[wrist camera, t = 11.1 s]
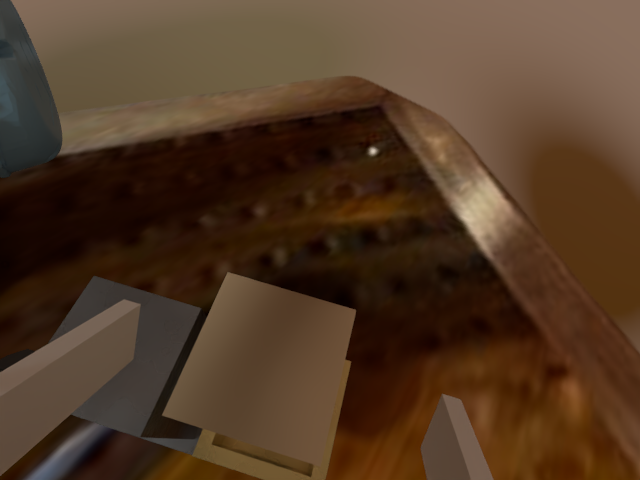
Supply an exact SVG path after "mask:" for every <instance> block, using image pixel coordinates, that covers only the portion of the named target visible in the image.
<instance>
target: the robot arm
mask: <svg viewBox="0 0 640 480" xmlns="http://www.w3.org/2000/svg"><path fill="white" fill-rule="evenodd" d="M61 146H62V130H61V124H60V120H59V115H58V112H57V108H56V105H55V102H54V99H53V96H52V93H51V90H50V87H49V84H48V81H47V79H46V76H45V73H44V70H43V68H42V65H41V63H40V60H39V58H38V56H37V53H36V51H35V48H34V46H33V44H32V41H31V39H30V38H29V35H28V33H27V30H26V28H25V27H24V24H23V22H22V20H21V18H20V16H19V14H18V12H17V10H16V9H15V7H14V5H13V4H12V2H11V1H10V0H0V177H1V178H6V177H8V176H10V175H11V173H12V172H16V171H19V170H23V169H26V168H29V167H33V166H36V165H40V164H43V163H46V162H48V161H50V160H52V159H53V158H55V157H56V156H57V154H58V153H59V151H60V149H61ZM140 306H141V304H138V303H135V302H131V301H128V300H125V299H124V300H122V301H120V302H119V303H117V304H115V305H113V306H112V307H110V308H108V309H107V310H105V311H103V312H102V313H100V314H98V315H96V316H95V317H93V318H91V319H90V320H88V321H86V322H85V323H83V324H81V325H80V326H78V327H76V328H74V329H73V330H71V331H69V332H68V333H66V334H64V335H63V336H61V337H59V338H58V339H56V340H54V341H52V342H51V343H49V344H47V345H46V346H44V347H42V348H41V349H39V350H37V351H36V352H35V351H32V350H29V349H26V350H23V351H20V352H17V353H14V354H11V355H8V356H6V357H4V358H2V359H0V476H1V475H2V474H3V473H4V472H5V471H6V470H8V469H9V468H10V467H11V466H12V465H13V464H14V463H16V462H17V461H18V460H19V459H20V458H21V457H22V456H24V455H25V454H26V453H27V452H28V451H29V450H30V449H31V448H33V447H34V446H35V445H36V444H37V443H38V442H39V441H41V440H42V439H43V438H44V437H45V436H46V435H47V434H49V433H50V432H51V431H52V430H53V429H54V428H55V427H57V426H58V425H59V424H60V423H61V422H62V421H63V420H65V419H66V418H67V417H68V416H69V415H70V414H71V413H73V412H74V411H75V410H76V409H77V408H78V407H79V406H81V405H82V404H83V403H84V402H85V401H86V400H87V399H89V398H90V397H91V396H92V395H93V394H94V393H95V392H97V391H98V390H99V389H100V388H101V387H102V386H103V385H105V384H106V383H107V382H108V381H109V380H110V379H111V378H112V377H114V376H115V375H116V374H117V373H118V372H119V371H120V370H122V369H123V368H124V367H125V366H126V365H127V364H128V363H130V362H131V361H132V360H133V358H134V351H135V343H136V336H137V328H138V321H139V313H140ZM421 452H422V457H423V462H424V467H425V472H426V477H427V480H493V477H492V475H491V473H490V470H489V468H488V465H487V463H486V460H485V458H484V455H483V453H482V450H481V448H480V446H479V443H478V441H477V438H476V436H475V433H474V431H473V428H472V426H471V423H470V421H469V419H468V416H467V414H466V411H465V409H464V406H463V404H462V401H461V399H457V398H454V397H451V396H447V395H444V394H442V396H441V398H440V401H439V403H438V406H437V408H436V411H435V413H434V415H433V418H432V420H431V423H430V425H429V428H428V430H427V433H426V435H425V438H424V440H423V443H422V445H421Z"/></svg>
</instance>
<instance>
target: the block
mask: <svg viewBox="0 0 640 480" xmlns="http://www.w3.org/2000/svg"><path fill="white" fill-rule="evenodd" d="M355 314H356V310H354V309H351V308H348V307H344V306H341V305H337V304H334V303H331V302H327V301H324V300H320V299H317V298H314V297H310V296H307V295H303V294H300V293H297V292H293V291H290V290H287V289H283V288H280V287H276V286H273V285H270V284H266V283H263V282H259V281H256V280H253V279H249V278H246V277H242V276H239V275H236V274H232V273H229V272H228V273H227V275H226V277H225V279H224V281H223V284H222V286H221V288H220V290H219V292H218V295H217V297H216V299H215V301H214V303H213V305H212V308H211V310H210V312H209V314H208V316H207V318H206V321H205V323H204V325H203V327H202V329H201V332H200V334H199V336H198V338H197V340H196V342H195V345H194V347H193V349H192V351H191V353H190V355H189V358H188V360H187V362H186V364H185V366H184V369H183V371H182V373H181V375H180V377H179V379H178V382H177V384H176V386H175V388H174V390H173V392H172V395H171V397H170V399H169V401H168V403H167V406H166V408H165V410H164V412H163V414H162V416H165V417H168V418H172V419H175V420H178V421H181V422H184V423H187V424H190V425H193V426H196V427H199V428H202V429H205V430H209V431H212V432H215V433H218V434H221V435H224V436H227V437H230V438H233V439H236V440H239V441H242V442H246V443H249V444H252V445H255V446H258V447H261V448H264V449H267V450H270V451H273V452H276V453H279V454H283V455H286V456H289V457H292V458H295V459H298V460H301V461H304V462H307V463H310V464H313V465H316V466H320V467H321V463H322V458H323V454H324V449H325V445H326V441H327V436H328V432H329V428H330V423H331V419H332V415H333V410H334V406H335V401H336V397H337V393H338V388H339V384H340V380H341V375H342V371H343V367H344V362H345V358H346V353H347V349H348V345H349V340H350V336H351V332H352V327H353V323H354V319H355Z"/></svg>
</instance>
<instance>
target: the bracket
mask: <svg viewBox="0 0 640 480" xmlns="http://www.w3.org/2000/svg"><path fill="white" fill-rule="evenodd" d="M124 299H125V300H128V301H131V302H135V303H138V304H141V306H140V313H139V321H138V328H137V336H136V343H135V351H134V358H133V360H132V361H131V362H130V363H128V364H127V365H126V366H125V367H124V368H123V369H122V370H120V371H119V372H118V373H117V374H116V375H115V376H114V377H112V378H111V379H110V380H109V381H108V382H107V383H106V384H105V385H103V386H102V387H101V388H100V389H99V390H98V391H97V392H95V393H94V394H93V395H92V396H91V397H90V398H89V399H87V400H86V401H85V402H84V403H83V404H82V405H81V406H79V407H78V408H77V409H76V410H75V411H74V412H73V413H71V415H74V416H77V417H80V418H83V419H86V420H89V421H92V422H95V423H97V424H100V425H103V426H106V427H109V428H112V429H115V430H118V431H121V432H124V433H127V434H130V435H133V436H136V437H139V438H142V439H145V440H148V441H151V442H154V443H157V444H161V445H164V446H167V447H170V448H173V449H176V450H179V451H182V452H185V453H188V454H191V455H192V456H194V457H197V458H200V459H203V460H206V461H209V462H212V463H215V464H218V465H221V466H224V467H227V468H230V469H233V470H236V471H239V472H242V473H245V474H248V475H251V476H254V477H257V478H260V479H263V480H325V478H326V474H327V469H328V465H329V460H330V456H331V451H332V447H333V442H334V438H335V433H336V428H337V424H338V419H339V415H340V410H341V406H342V401H343V397H344V392H345V388H346V383H347V379H348V374H349V369H350V365H351V361H348V360H345V362H344V367H343V371H342V375H341V380H340V384H339V388H338V393H337V397H336V401H335V406H334V410H333V415H332V419H331V423H330V428H329V432H328V436H327V441H326V445H325V449H324V454H323V458H322V463H321V467H320V466H316V465H313V464H310V463H307V462H304V461H301V460H298V459H295V458H292V457H289V456H286V455H283V454H279V453H276V452H273V451H270V450H267V449H264V448H261V447H258V446H255V445H252V444H249V443H246V442H242V441H239V440H236V439H233V438H230V437H227V436H224V435H221V434H218V433H215V432H212V431H209V430H205V429H202V428H199V427H196V426H193V425H190V424H187V423H184V422H181V421H178V420H175V419H172V418H168V417H165V416H162V414H163V412H164V410H165V408H166V406H167V403H168V401H169V399H170V397H171V395H172V392H173V390H174V388H175V386H176V384H177V382H178V379H179V377H180V375H181V373H182V371H183V369H184V366H185V364H186V362H187V360H188V358H189V355H190V353H191V351H192V349H193V347H194V345H195V342H196V340H197V338H198V336H199V334H200V332H201V329H202V327H203V325H204V323H205V321H206V318H207V317H206V315H205V314H204V312H203V310H202V309H201V308H198V307H195V306H192V305H188V304H185V303H182V302H178V301H175V300H172V299H168V298H165V297H162V296H159V295H155V294H152V293H149V292H145V291H142V290H139V289H136V288H132V287H129V286H126V285H122V284H119V283H116V282H113V281H109V280H106V279H103V278H99V277H96V276H94V277H93V278H92V280H91V281H90V283H89V284H88V286H87V287H86V289H85V290H84V291H83V293H82V294H81V296H80V297H79V299H78V300H77V302H76V303H75V305H74V306H73V308H72V309H71V311H70V312H69V313H68V315H67V316H66V318H65V319H64V321H63V322H62V324H61V325H60V327H59V328H58V330H57V331H56V333H55V334H54V336H53V337H52V338H51V340H50V341H49V343H51V342H52V341H54V340H56V339H58V338H59V337H61V336H63V335H64V334H66V333H68V332H69V331H71V330H73V329H74V328H76V327H78V326H80V325H81V324H83V323H85V322H86V321H88V320H90V319H91V318H93V317H95V316H96V315H98V314H100V313H102V312H103V311H105V310H107V309H108V308H110V307H112V306H113V305H115V304H117V303H119V302H120V301H122V300H124ZM49 343H48V344H49Z"/></svg>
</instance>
